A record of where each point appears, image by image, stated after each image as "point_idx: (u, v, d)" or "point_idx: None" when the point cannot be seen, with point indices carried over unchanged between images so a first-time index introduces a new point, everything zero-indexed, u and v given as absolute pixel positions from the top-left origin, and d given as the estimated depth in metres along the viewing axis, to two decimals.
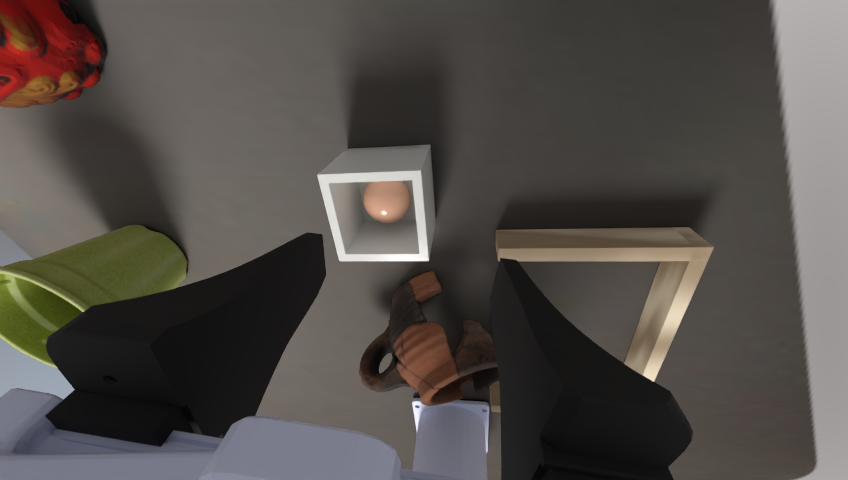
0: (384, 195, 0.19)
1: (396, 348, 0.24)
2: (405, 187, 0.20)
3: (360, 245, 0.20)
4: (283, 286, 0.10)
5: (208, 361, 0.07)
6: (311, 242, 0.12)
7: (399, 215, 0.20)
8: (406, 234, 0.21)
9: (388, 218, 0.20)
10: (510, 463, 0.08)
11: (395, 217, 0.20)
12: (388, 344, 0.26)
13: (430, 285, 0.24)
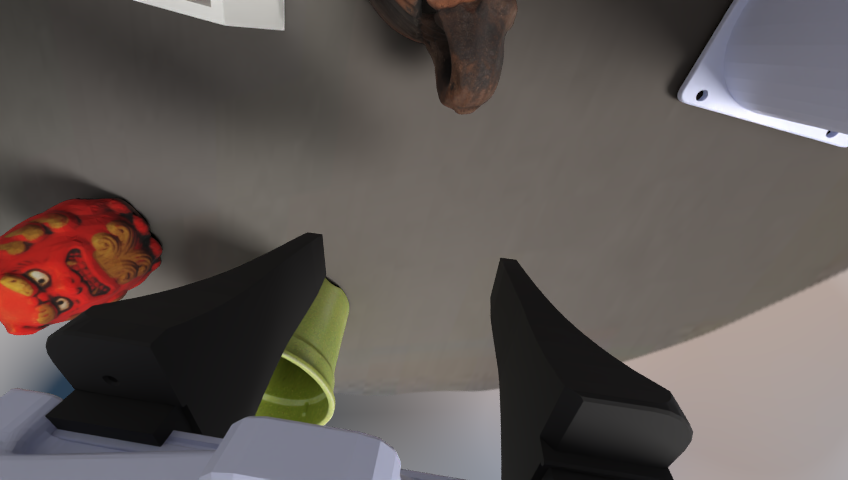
0: None
1: (405, 0, 0.12)
2: None
3: None
4: (283, 286, 0.10)
5: (208, 361, 0.07)
6: (311, 242, 0.12)
7: None
8: None
9: None
10: (510, 463, 0.08)
11: None
12: (437, 44, 0.14)
13: None
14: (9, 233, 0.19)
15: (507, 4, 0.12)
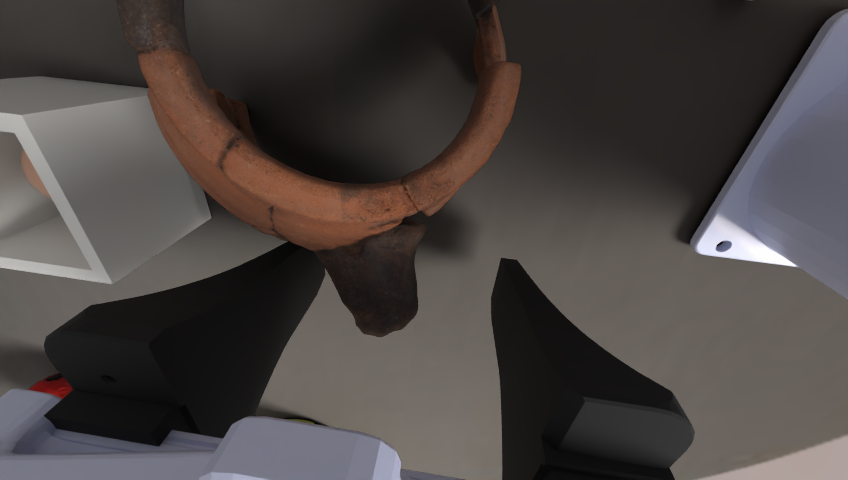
0: None
1: None
2: None
3: None
4: (282, 286, 0.10)
5: (206, 361, 0.07)
6: None
7: None
8: None
9: None
10: (511, 463, 0.08)
11: None
12: None
13: None
14: None
15: (402, 237, 0.08)
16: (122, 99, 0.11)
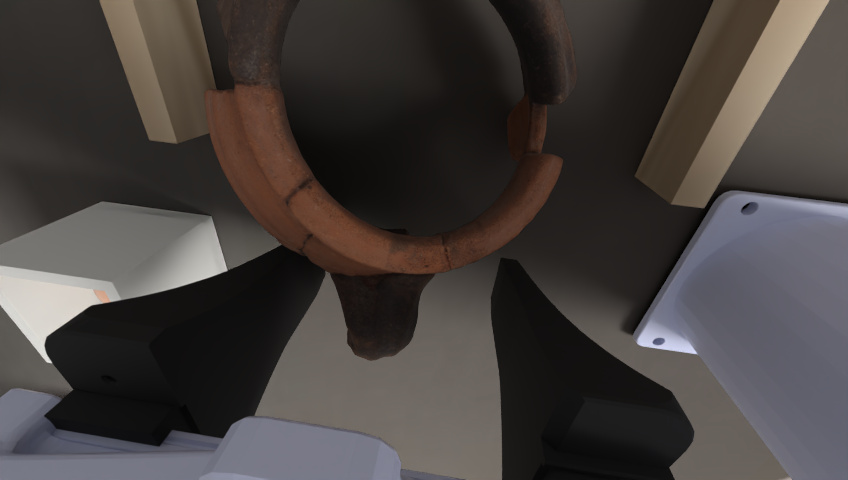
0: None
1: None
2: None
3: None
4: (282, 286, 0.10)
5: (207, 361, 0.07)
6: None
7: None
8: None
9: None
10: (511, 463, 0.08)
11: None
12: None
13: None
14: None
15: (418, 278, 0.09)
16: (175, 239, 0.13)
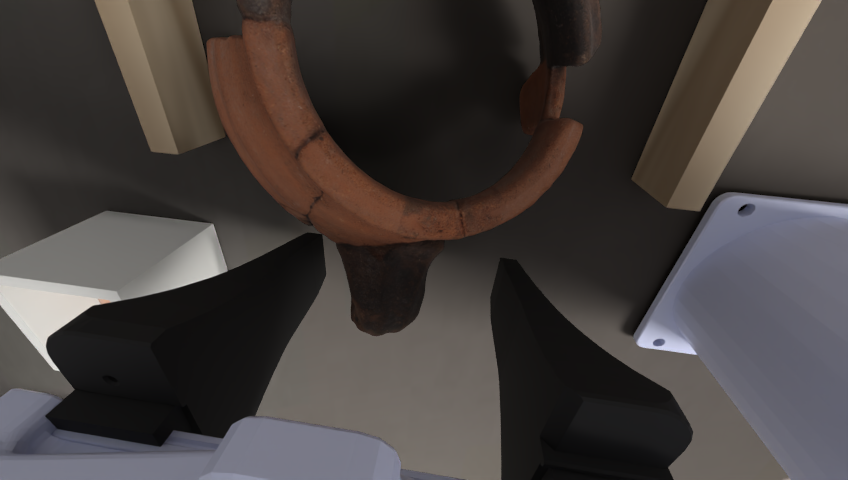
0: None
1: None
2: None
3: None
4: (283, 286, 0.10)
5: (208, 361, 0.07)
6: (311, 242, 0.12)
7: None
8: None
9: None
10: (510, 463, 0.08)
11: None
12: None
13: None
14: None
15: (427, 249, 0.09)
16: (177, 247, 0.14)
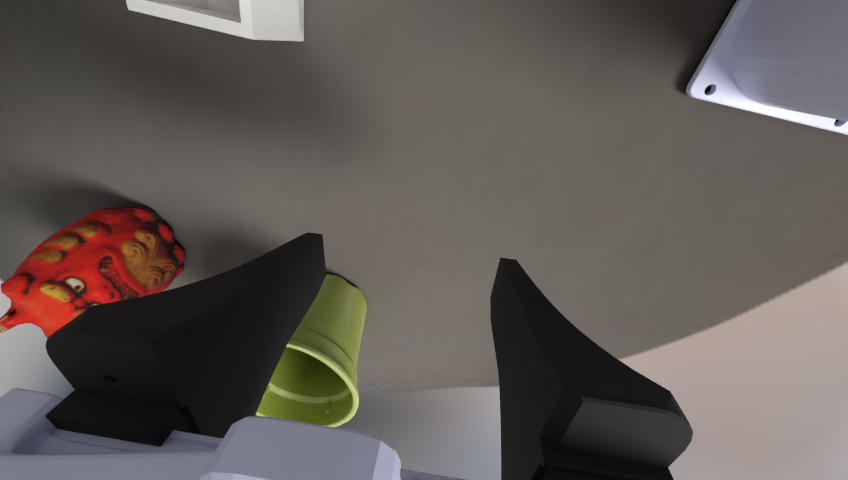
0: None
1: None
2: None
3: None
4: (283, 286, 0.10)
5: (208, 361, 0.07)
6: (311, 242, 0.12)
7: None
8: None
9: None
10: (510, 463, 0.08)
11: None
12: None
13: None
14: (46, 243, 0.20)
15: None
16: None
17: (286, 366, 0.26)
